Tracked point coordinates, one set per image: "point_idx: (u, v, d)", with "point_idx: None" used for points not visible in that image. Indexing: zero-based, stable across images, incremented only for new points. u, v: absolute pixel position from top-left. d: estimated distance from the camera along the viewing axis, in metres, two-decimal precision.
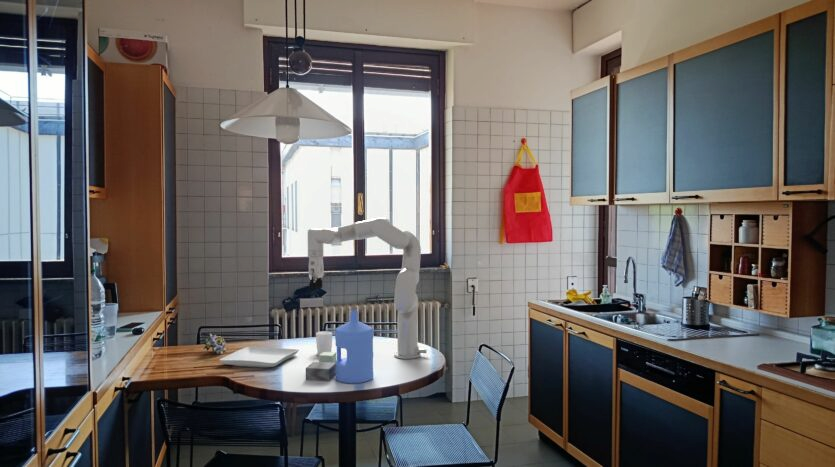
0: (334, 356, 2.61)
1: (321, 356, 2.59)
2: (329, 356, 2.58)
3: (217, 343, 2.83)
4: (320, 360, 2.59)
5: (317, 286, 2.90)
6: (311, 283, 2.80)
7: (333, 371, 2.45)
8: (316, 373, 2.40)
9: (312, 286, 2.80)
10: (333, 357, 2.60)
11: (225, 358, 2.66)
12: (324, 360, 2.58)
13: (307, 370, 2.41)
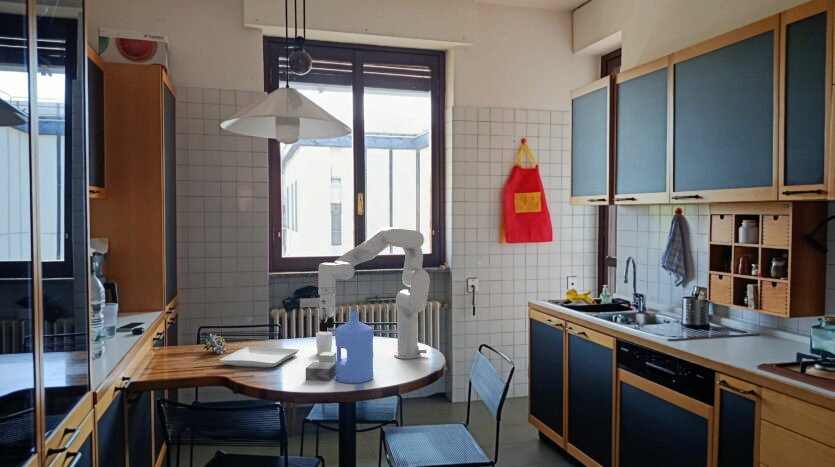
0: (334, 356, 2.61)
1: (321, 356, 2.59)
2: (329, 356, 2.58)
3: (217, 343, 2.83)
4: (320, 360, 2.59)
5: (328, 325, 2.65)
6: (322, 323, 2.55)
7: (333, 371, 2.45)
8: (316, 373, 2.40)
9: (323, 327, 2.55)
10: (333, 357, 2.60)
11: (225, 358, 2.66)
12: (324, 360, 2.58)
13: (307, 370, 2.41)
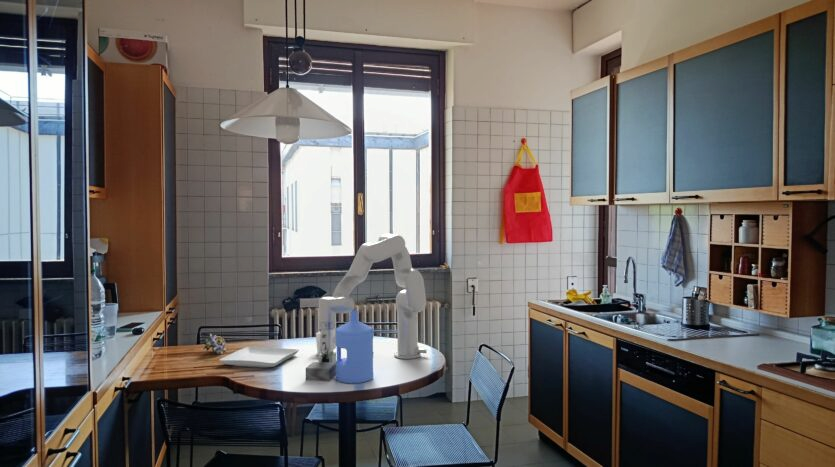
0: (334, 356, 2.61)
1: (321, 356, 2.59)
2: (329, 356, 2.58)
3: (217, 343, 2.83)
4: (320, 360, 2.59)
5: None
6: (324, 359, 2.57)
7: (333, 371, 2.45)
8: (316, 373, 2.40)
9: None
10: (333, 357, 2.60)
11: (225, 358, 2.66)
12: None
13: (307, 370, 2.41)
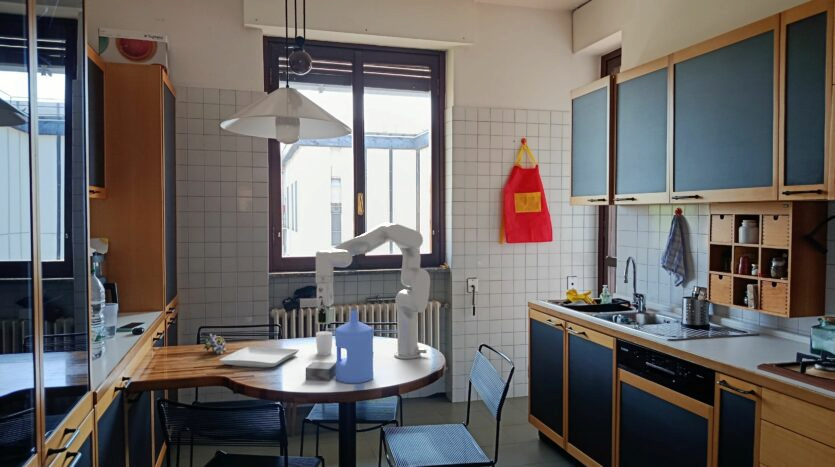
0: (331, 311, 2.54)
1: (317, 311, 2.52)
2: (326, 311, 2.51)
3: (217, 343, 2.83)
4: (316, 315, 2.52)
5: None
6: (320, 314, 2.50)
7: (333, 371, 2.45)
8: (316, 373, 2.40)
9: (321, 317, 2.50)
10: (330, 312, 2.53)
11: (225, 358, 2.66)
12: None
13: (307, 370, 2.41)
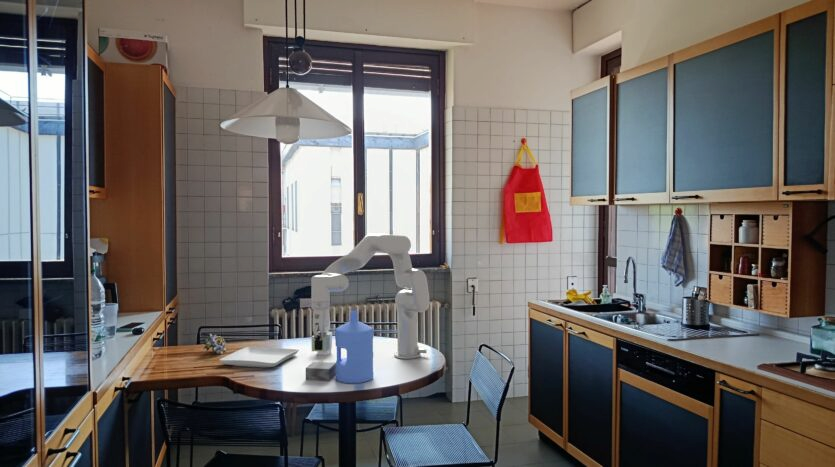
0: (328, 338, 2.45)
1: None
2: (322, 338, 2.42)
3: (217, 343, 2.83)
4: (313, 342, 2.42)
5: None
6: (317, 341, 2.41)
7: (333, 371, 2.45)
8: (316, 373, 2.40)
9: (318, 345, 2.41)
10: (326, 339, 2.43)
11: (225, 358, 2.66)
12: None
13: (307, 370, 2.41)
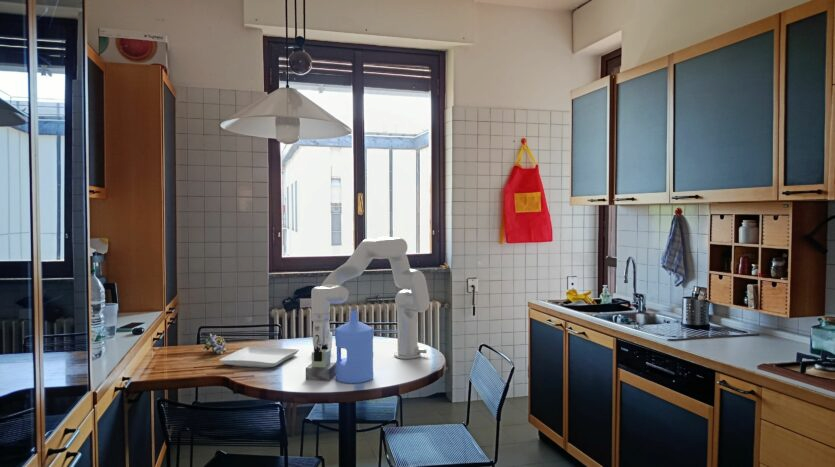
0: (328, 353, 2.45)
1: None
2: (322, 353, 2.42)
3: (217, 343, 2.83)
4: (313, 358, 2.43)
5: None
6: (316, 353, 2.40)
7: (333, 371, 2.45)
8: (316, 373, 2.40)
9: (317, 356, 2.40)
10: (327, 354, 2.43)
11: (225, 358, 2.66)
12: None
13: (307, 370, 2.41)
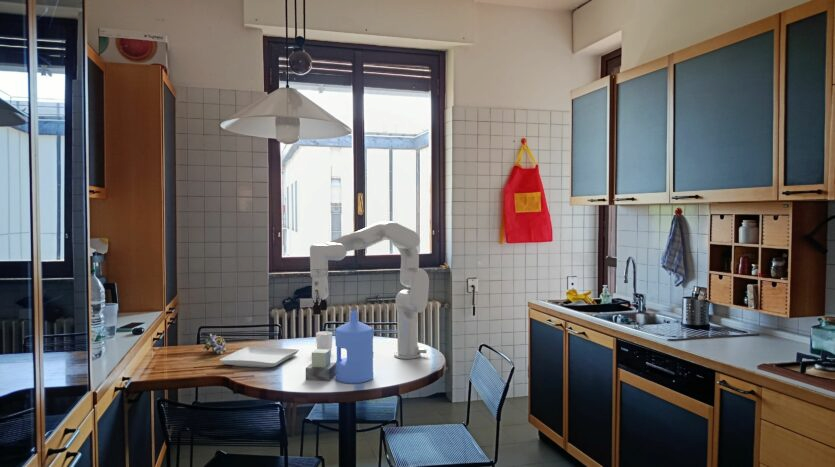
0: (328, 353, 2.45)
1: (314, 353, 2.42)
2: (322, 353, 2.42)
3: (217, 343, 2.83)
4: (313, 358, 2.43)
5: (321, 308, 2.59)
6: (315, 306, 2.49)
7: (333, 371, 2.45)
8: (316, 373, 2.40)
9: (316, 309, 2.49)
10: (327, 354, 2.43)
11: (225, 358, 2.66)
12: (317, 358, 2.42)
13: (307, 370, 2.41)
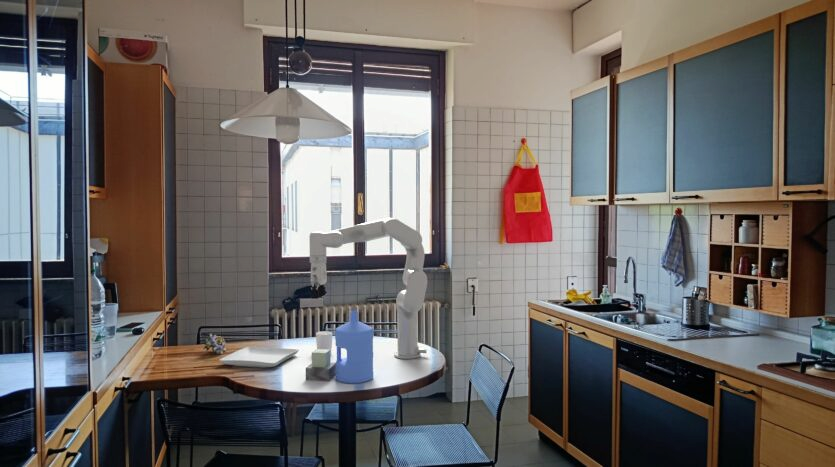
0: (328, 353, 2.45)
1: (314, 353, 2.42)
2: (322, 353, 2.42)
3: (217, 343, 2.83)
4: (313, 358, 2.43)
5: (320, 293, 2.72)
6: (313, 290, 2.61)
7: (333, 371, 2.45)
8: (316, 373, 2.40)
9: (314, 294, 2.61)
10: (327, 354, 2.43)
11: (225, 358, 2.66)
12: (317, 358, 2.42)
13: (307, 370, 2.41)
